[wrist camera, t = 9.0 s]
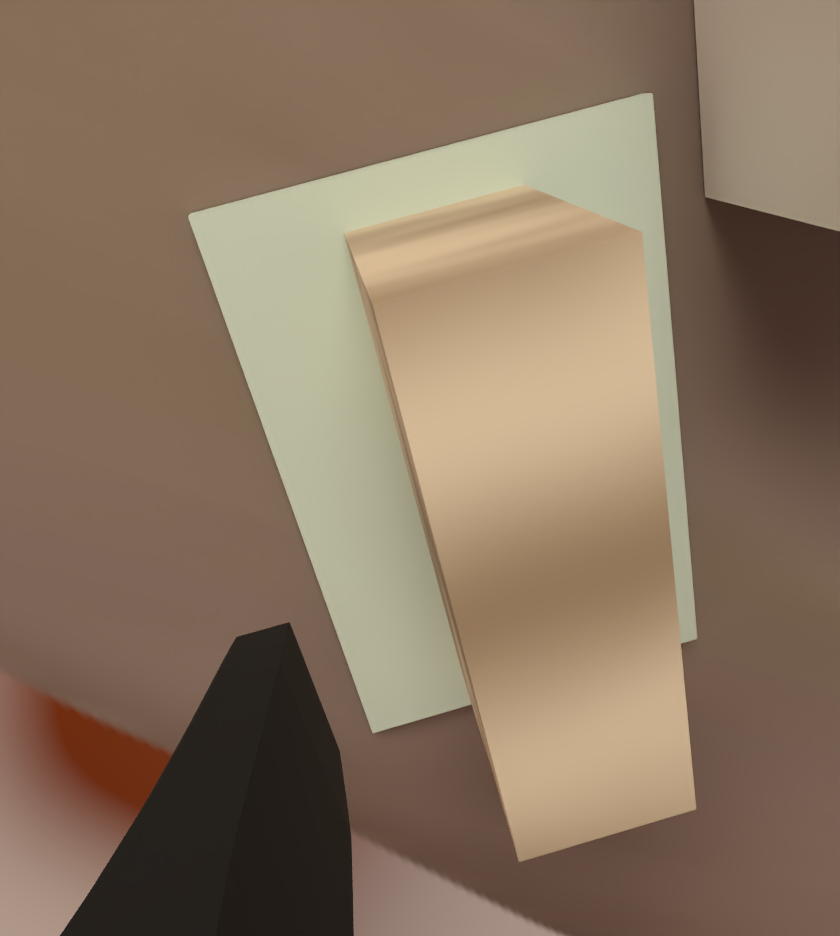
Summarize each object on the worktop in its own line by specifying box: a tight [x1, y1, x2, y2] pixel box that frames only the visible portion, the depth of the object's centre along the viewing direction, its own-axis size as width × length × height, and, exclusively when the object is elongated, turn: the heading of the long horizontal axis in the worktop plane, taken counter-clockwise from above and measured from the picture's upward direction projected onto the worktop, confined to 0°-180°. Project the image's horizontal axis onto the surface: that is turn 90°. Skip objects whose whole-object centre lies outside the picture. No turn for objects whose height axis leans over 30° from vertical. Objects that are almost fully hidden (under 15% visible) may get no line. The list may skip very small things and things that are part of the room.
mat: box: [188, 93, 697, 733], centre depth 16 cm, size 8×12×1 cm, turn 13°
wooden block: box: [344, 185, 696, 862], centre depth 13 cm, size 10×3×5 cm, turn 13°
